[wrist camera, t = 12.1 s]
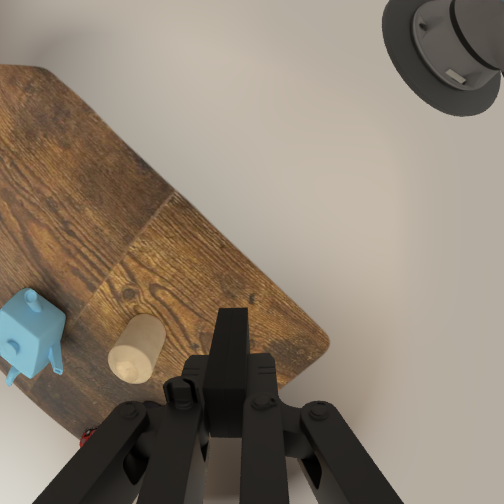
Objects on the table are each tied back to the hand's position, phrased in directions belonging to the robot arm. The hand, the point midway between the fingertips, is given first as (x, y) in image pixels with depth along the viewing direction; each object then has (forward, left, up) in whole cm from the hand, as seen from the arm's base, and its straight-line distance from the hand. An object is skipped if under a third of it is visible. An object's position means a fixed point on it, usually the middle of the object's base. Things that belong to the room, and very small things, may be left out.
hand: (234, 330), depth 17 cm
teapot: (+32, -10, -23) cm, 40 cm away
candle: (+18, +1, -23) cm, 29 cm away
